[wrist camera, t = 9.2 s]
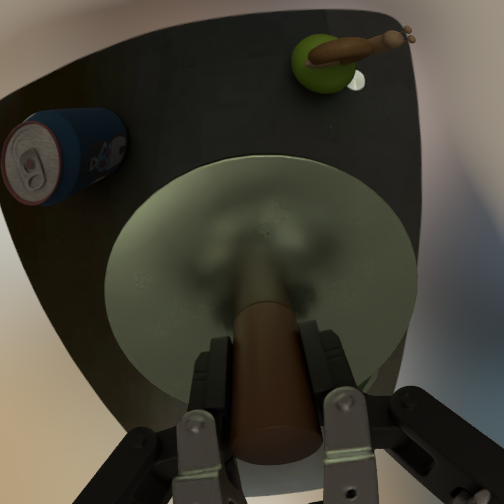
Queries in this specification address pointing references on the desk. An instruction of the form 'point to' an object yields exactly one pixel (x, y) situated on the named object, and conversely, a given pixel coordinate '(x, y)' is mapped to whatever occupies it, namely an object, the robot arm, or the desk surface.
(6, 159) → the soda can
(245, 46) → the desk surface
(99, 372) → the desk surface
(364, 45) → the snail figurine
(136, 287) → the pot lid
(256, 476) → the desk surface
